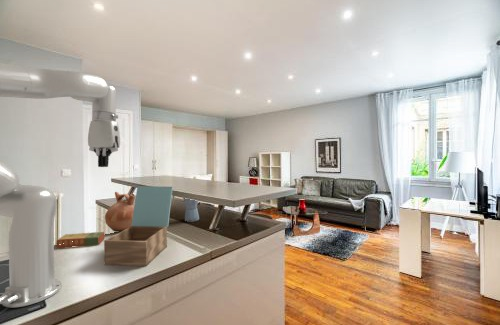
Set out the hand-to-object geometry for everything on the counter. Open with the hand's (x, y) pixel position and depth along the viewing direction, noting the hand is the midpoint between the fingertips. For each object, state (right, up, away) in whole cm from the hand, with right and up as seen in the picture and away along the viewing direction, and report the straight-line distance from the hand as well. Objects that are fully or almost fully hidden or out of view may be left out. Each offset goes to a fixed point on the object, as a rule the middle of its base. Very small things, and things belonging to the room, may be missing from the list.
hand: (103, 166), depth 87 cm
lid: (+11, -18, +18) cm, 28 cm away
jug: (-14, -35, +41) cm, 56 cm away
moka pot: (+19, -35, +59) cm, 71 cm away
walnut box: (+10, -36, +7) cm, 38 cm away
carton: (-22, -36, +19) cm, 46 cm away
